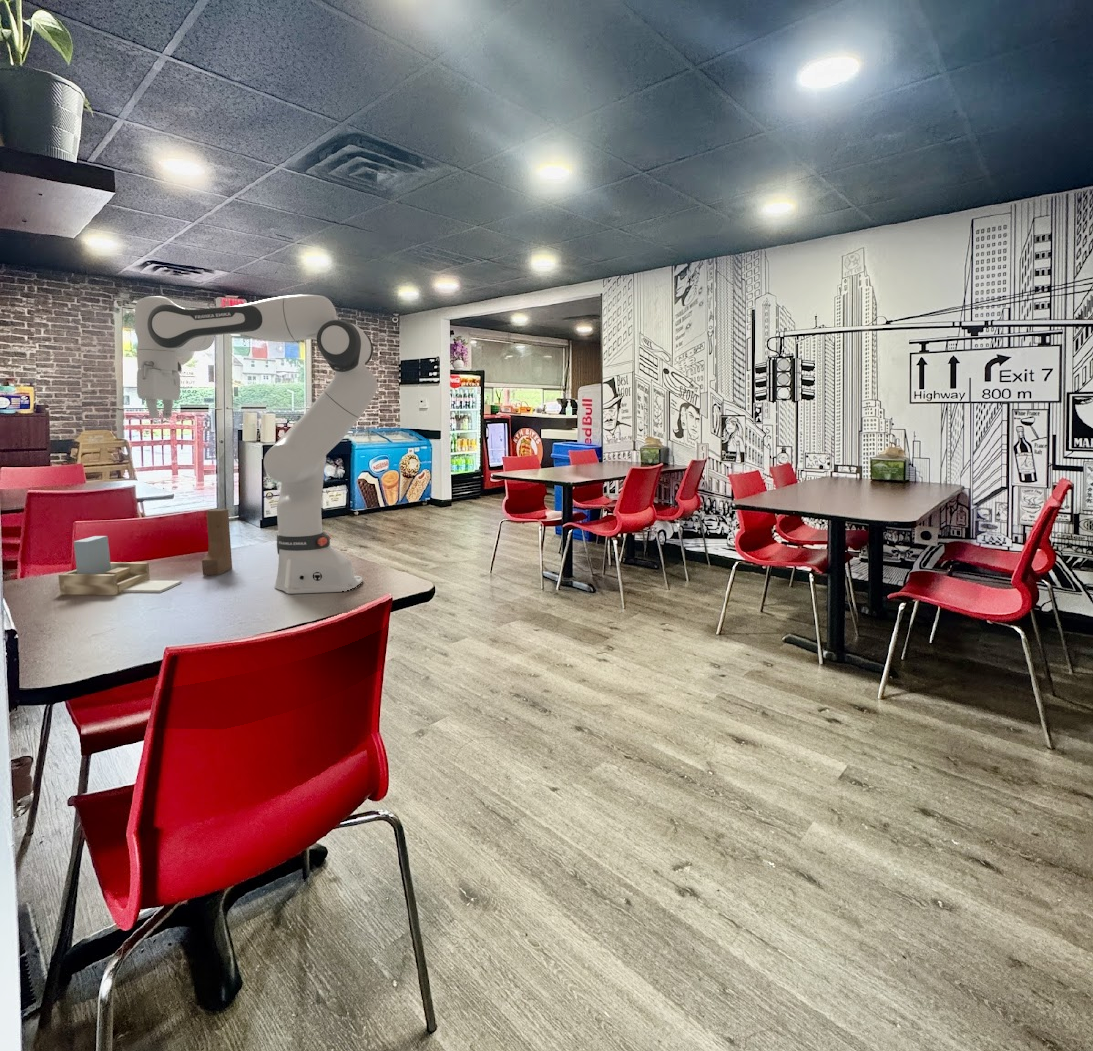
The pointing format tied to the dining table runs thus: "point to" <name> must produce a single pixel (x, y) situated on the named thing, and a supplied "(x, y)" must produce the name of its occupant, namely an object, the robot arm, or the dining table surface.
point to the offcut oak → (120, 573)
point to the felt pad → (152, 586)
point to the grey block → (92, 555)
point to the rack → (103, 580)
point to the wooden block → (218, 543)
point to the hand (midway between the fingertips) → (161, 417)
